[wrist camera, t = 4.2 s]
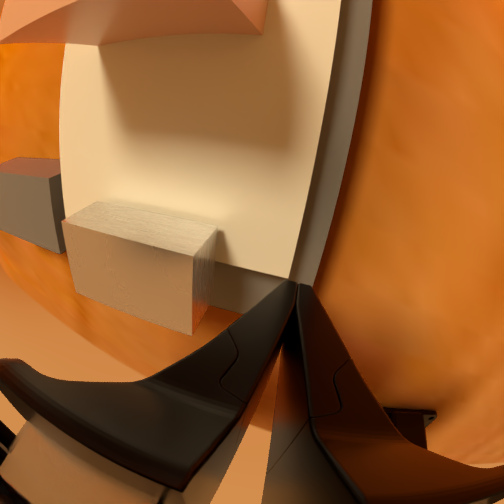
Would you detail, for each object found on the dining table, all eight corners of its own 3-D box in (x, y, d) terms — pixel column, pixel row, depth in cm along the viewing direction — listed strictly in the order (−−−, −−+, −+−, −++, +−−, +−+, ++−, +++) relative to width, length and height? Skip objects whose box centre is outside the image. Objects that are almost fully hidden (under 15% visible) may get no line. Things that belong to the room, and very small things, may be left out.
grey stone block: (212, 299, 11) (192, 336, 9) (104, 266, 11) (76, 292, 9) (218, 225, 9) (192, 256, 7) (97, 200, 10) (61, 221, 8)
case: (302, 300, 14) (296, 344, 11) (25, 222, 16) (-3, 239, 14) (369, -38, 6) (379, -73, 3) (28, 10, 8) (-5, 9, 6)
